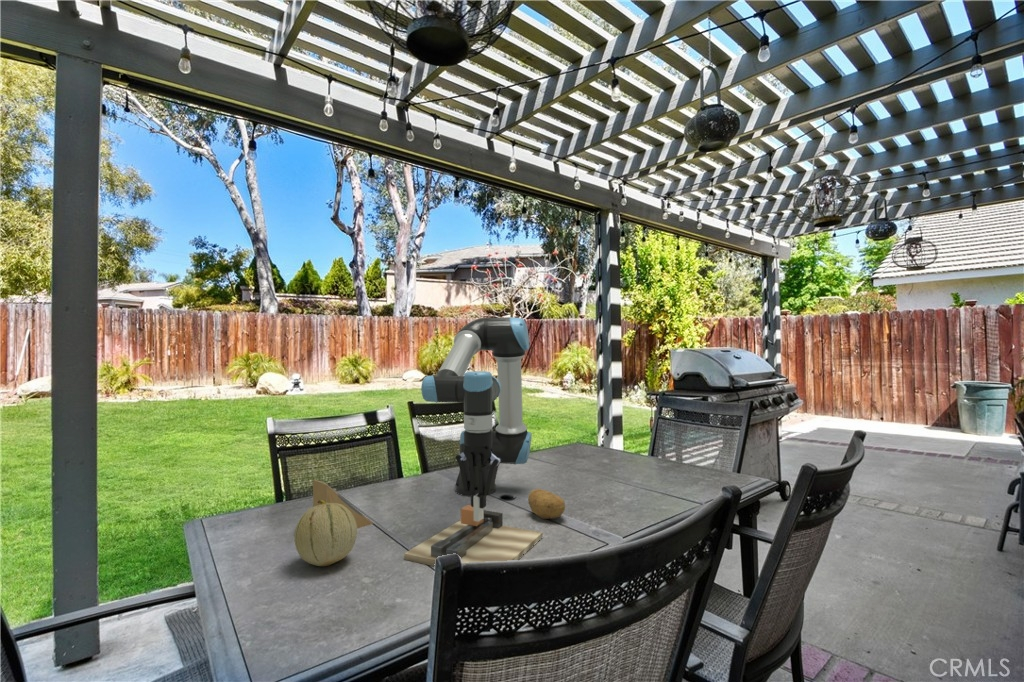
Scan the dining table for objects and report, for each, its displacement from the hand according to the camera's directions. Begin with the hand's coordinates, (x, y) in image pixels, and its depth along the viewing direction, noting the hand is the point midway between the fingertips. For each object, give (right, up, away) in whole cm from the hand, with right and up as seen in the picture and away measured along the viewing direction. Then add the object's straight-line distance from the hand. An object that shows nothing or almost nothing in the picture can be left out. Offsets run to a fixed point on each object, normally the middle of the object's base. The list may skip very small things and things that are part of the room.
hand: (478, 519), depth 129 cm
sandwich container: (-41, -9, +16) cm, 45 cm away
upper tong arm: (-1, -6, 0) cm, 6 cm away
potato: (+20, -9, +24) cm, 32 cm away
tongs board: (0, -8, +1) cm, 8 cm away
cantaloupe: (-37, -8, -8) cm, 39 cm away
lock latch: (-2, -4, +8) cm, 9 cm away
